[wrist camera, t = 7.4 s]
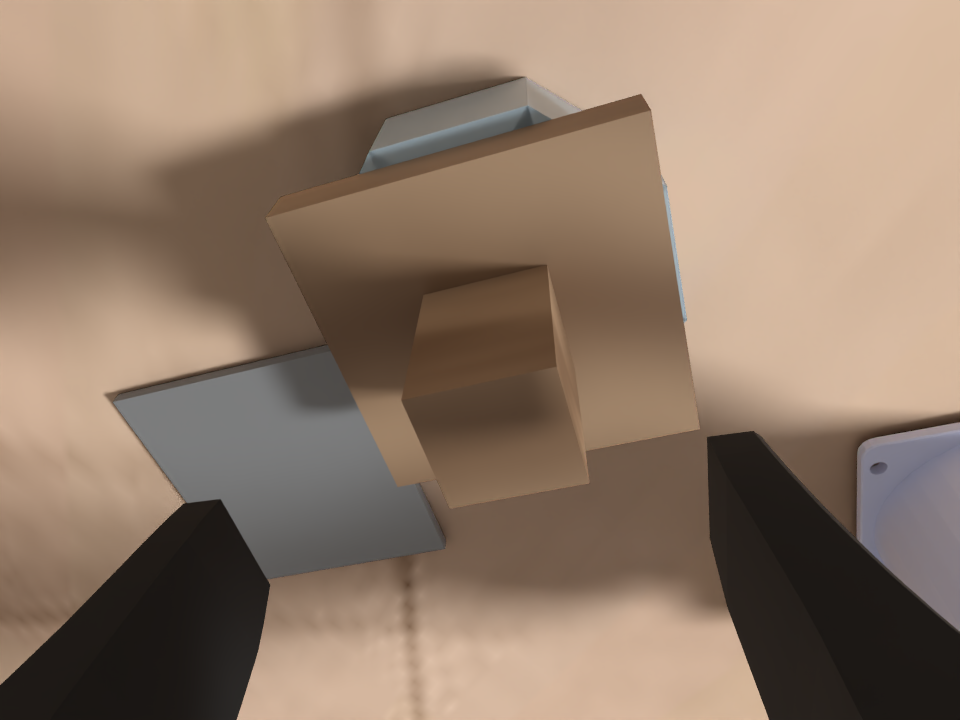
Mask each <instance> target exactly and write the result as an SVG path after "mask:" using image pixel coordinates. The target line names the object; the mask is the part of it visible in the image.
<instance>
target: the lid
mask: <svg viewBox="0 0 960 720" xmlns="http://www.w3.org/2000/svg"><path fill="white" fill-rule="evenodd" d="M265 219H266V221H267V223H268V225H269V227H270V229H271V231H272V233H273V235H274V237H275V239H276V241H277V243H278V245H279V248H280V250H281V252H282V254H283V256H284V258H285V260H286V262H287V264H288V266H289V268H290V270H291V272H292V274H293V276H294V278H295V280H296V282H297V284H298V286H299V288H300V290H301V292H302V294H303V296H304V298H305V300H306V302H307V304H308V306H309V308H310V310H311V312H312V314H313V316H314V318H315V320H316V322H317V324H318V327H319V329H320V331H321V333H322V335H323V337H324V339H325V341H326V343H327V345H328V347H329V349H330V351H331V353H332V355H333V357H334V359H335V361H336V363H337V365H338V367H339V369H340V371H341V373H342V375H343V377H344V379H345V381H346V383H347V385H348V387H349V389H350V391H351V393H352V395H353V397H354V399H355V401H356V403H357V406H358V408H359V410H360V412H361V414H362V416H363V418H364V420H365V422H366V424H367V426H368V428H369V430H370V432H371V434H372V436H373V438H374V440H375V442H376V444H377V446H378V448H379V450H380V452H381V454H382V456H383V458H384V460H385V462H386V464H387V466H388V468H389V470H390V472H391V474H392V476H393V478H394V480H395V482H396V484H397V487H401V486H406V485H411V484H416V483H422V482H427V481H432V480H437V482H438V484H439V486H440V488H441V491H442V493H443V495H444V497H445V500H446V502H447V504H448V506H449V508H450V509H452V508H457V507H463V506H468V505H474V504H479V503H485V502H490V501H496V500H501V499H507V498H512V497H518V496H523V495H529V494H534V493H540V492H545V491H551V490H556V489H562V488H567V487H573V486H578V485H584V484H589V483H590V482H589V474H588V466H587V459H586V451H589V450H594V449H599V448H605V447H610V446H615V445H620V444H626V443H631V442H636V441H641V440H647V439H652V438H657V437H662V436H668V435H673V434H678V433H683V432H688V431H694V430H699V429H700V425H699V419H698V412H697V406H696V399H695V393H694V386H693V380H692V373H691V367H690V360H689V354H688V347H687V341H686V334H685V328H684V321H683V315H682V308H681V302H680V295H679V289H678V282H677V276H676V269H675V263H674V256H673V250H672V243H671V237H670V230H669V224H668V217H667V211H666V204H665V198H664V191H663V185H662V178H661V172H660V165H659V159H658V152H657V146H656V139H655V133H654V126H653V120H652V113H651V109H650V108H649V106H648V104H647V103H646V101H645V99H644V98H643V96H642V95H641V94H639V95H636V96H632V97H629V98H625V99H622V100H618V101H615V102H611V103H608V104H604V105H601V106H597V107H594V108H590V109H587V110H583V111H580V112H576V113H573V114H569V115H566V116H562V117H559V118H555V119H552V120H548V121H545V122H541V123H538V124H534V125H531V126H527V127H524V128H520V129H517V130H513V131H510V132H506V133H503V134H499V135H495V136H492V137H488V138H485V139H481V140H478V141H474V142H471V143H467V144H464V145H460V146H457V147H453V148H450V149H446V150H443V151H439V152H436V153H432V154H429V155H425V156H422V157H418V158H415V159H411V160H408V161H404V162H401V163H397V164H394V165H390V166H387V167H383V168H380V169H376V170H373V171H369V172H366V173H362V174H359V175H355V176H352V177H348V178H345V179H341V180H337V181H334V182H330V183H327V184H323V185H320V186H316V187H313V188H309V189H306V190H302V191H299V192H295V193H292V194H288V195H285V196H281V197H280V198H279V200H278V201H277V202H276V204H275V205H274V206H273V208H272V209H271V211H270V212H269V213H268V215H267V216H266V217H265Z"/></svg>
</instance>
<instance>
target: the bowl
mask: <svg viewBox="0 0 960 720" xmlns="http://www.w3.org/2000/svg"><path fill="white" fill-rule="evenodd" d="M580 111H582V110H581V109H579V108H577V107H576V106H574V105H572V104H570V103H569V102H567V101H565V100H564V99H562V98H560V97H559V96H557V95H555V94H554V93H552V92H550V91H549V90H547V89H545V88H544V87H542V86H540V85H538V84H537V83H535V82H533V81H532V80H530V79H528V78H527V77H524V78H521V79H518V80H514V81H511V82H508V83H504V84H501V85H497V86H494V87H491V88H487V89H484V90H481V91H477V92H474V93H471V94H467V95H464V96H461V97H457V98H454V99H451V100H447V101H444V102H441V103H437V104H434V105H431V106H427V107H424V108H420V109H417V110H414V111H410V112H407V113H404V114H400V115H397V116H394V117H390V118H387V119H386V120H385V122H384V124H383V126H382V128H381V130H380V131H379V133H378V135H377V137H376V139H375V141H374V143H373V145H372V147H371V149H370V150H369V153H368V155H367V158H366V160H365V162H364V164H363V166H362V168H361V171H360V173H359V174H362V173H366V172H369V171H373V170H376V169H380V168H383V167H387V166H390V165H394V164H397V163H401V162H404V161H408V160H411V159H415V158H418V157H422V156H425V155H429V154H432V153H436V152H439V151H443V150H446V149H450V148H453V147H457V146H460V145H464V144H467V143H471V142H474V141H478V140H481V139H485V138H488V137H492V136H495V135H499V134H503V133H506V132H510V131H513V130H517V129H520V128H524V127H527V126H531V125H534V124H538V123H541V122H545V121H548V120H552V119H555V118H559V117H562V116H566V115H569V114H573V113H576V112H580ZM661 178H662V185H663V191H664V198H665V204H666V211H667V217H668V224H669V230H670V237H671V243H672V250H673V256H674V263H675V269H676V276H677V282H678V289H679V295H680V302H681V308H682V315H683V321H684V323H685V321H686V320H687V317H686V311H685V304H684V297H683V291H682V284H681V278H680V271H679V264H678V258H677V251H676V244H675V238H674V231H673V224H672V218H671V211H670V205H669V198H668V191H667V185H666V183H665V181H664V179H663V177H662V175H661Z"/></svg>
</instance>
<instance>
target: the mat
mask: <svg viewBox="0 0 960 720" xmlns="http://www.w3.org/2000/svg"><path fill="white" fill-rule="evenodd" d="M113 403H114V405H115V406H116V407H117V409H118V410H119V412H120V413H121V414H122V416H123V417H124V418H125V420H126V421H127V422H128V424H129V425H130V426H131V428H132V429H133V431H134V432H135V433H136V435H137V436H138V437H139V439H140V440H141V441H142V443H143V444H144V445H145V447H146V448H147V450H148V451H149V452H150V454H151V455H152V456H153V458H154V459H155V460H156V462H157V463H158V464H159V466H160V467H161V469H162V470H163V471H164V473H165V474H166V475H167V477H168V478H169V479H170V481H171V482H172V483H173V485H174V486H175V488H176V489H177V490H178V492H179V493H180V494H181V496H182V497H183V498H184V500H185V501H186V502H187V503H192V502H200V501H208V500H216V499H221V500H222V502H223V504H224V506H225V507H226V509H227V511H228V513H229V514H230V516H231V518H232V520H233V521H234V523H235V525H236V526H237V528H238V530H239V532H240V533H241V535H242V537H243V539H244V540H245V542H246V544H247V546H248V547H249V549H250V551H251V553H252V554H253V556H254V558H255V560H256V561H257V563H258V565H259V566H260V568H261V570H262V572H263V573H264V575H265V577H266V579H272V578H278V577H284V576H289V575H295V574H301V573H307V572H313V571H319V570H325V569H330V568H336V567H342V566H348V565H354V564H360V563H366V562H371V561H377V560H383V559H389V558H395V557H401V556H407V555H412V554H418V553H424V552H430V551H436V550H442V549H445V546H446V539H445V537H444V535H443V533H442V530H441V528H440V526H439V524H438V522H437V520H436V518H435V516H434V513H433V511H432V509H431V507H430V505H429V503H428V501H427V498H426V496H425V494H424V492H423V490H422V488H421V486H420V483H416V484H411V485H406V486H401V487H397V484H396V482H395V480H394V478H393V476H392V474H391V472H390V470H389V468H388V466H387V464H386V462H385V460H384V458H383V456H382V454H381V452H380V450H379V448H378V446H377V444H376V442H375V440H374V438H373V436H372V434H371V432H370V430H369V428H368V426H367V424H366V422H365V420H364V418H363V416H362V414H361V412H360V410H359V408H358V406H357V403H356V401H355V399H354V397H353V395H352V393H351V391H350V389H349V387H348V385H347V383H346V381H345V379H344V377H343V375H342V373H341V371H340V369H339V367H338V365H337V363H336V361H335V359H334V357H333V355H332V353H331V351H330V349H329V347H328V345H325V346H321V347H316V348H312V349H308V350H304V351H299V352H295V353H291V354H287V355H283V356H278V357H274V358H270V359H266V360H261V361H257V362H253V363H249V364H245V365H240V366H236V367H232V368H228V369H224V370H219V371H215V372H211V373H207V374H202V375H198V376H194V377H190V378H186V379H181V380H177V381H173V382H169V383H164V384H160V385H156V386H152V387H148V388H143V389H139V390H135V391H131V392H127V393H122V394H118V396H117V397H116V398H115V400H114V401H113Z"/></svg>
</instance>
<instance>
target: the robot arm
mask: <svg viewBox="0 0 960 720" xmlns="http://www.w3.org/2000/svg"><path fill="white" fill-rule="evenodd" d="M707 449H708V486H709V522H710V540H711V544H712V548H713V552H714V556H715V560H716V564H717V568H718V572H719V576H720V580H721V584H722V588H723V592H724V595H725V599H726V603H727V607H728V610H729V612H730V615H731V618H732V621H733V623H734V626H735V629H736V631H737V634H738V637H739V640H740V642H741V645H742V648H743V650H744V653H745V656H746V659H747V661H748V664H749V667H750V669H751V672H752V675H753V677H754V680H755V683H756V685H757V688H758V691H759V693H760V696H761V699H762V701H763V704H764V707H765V709H766V712H767V715H768V717H769V720H960V422H959V423H953V424H947V425H942V426H936V427H931V428H925V429H920V430H914V431H909V432H903V433H898V434H892V435H887V436H881V437H875V438H872V439H868V440H867V441H865V442H863V443H862V444H861V445H860V447H859V448H858V452H857V539H856V538H855V537H854V536H853V535H852V534H851V533H850V532H849V531H848V530H847V529H846V528H845V527H844V526H843V525H842V524H841V523H840V522H839V521H838V520H837V519H836V518H835V517H834V516H833V515H832V514H831V513H830V512H829V511H828V510H827V509H826V508H825V507H824V506H823V505H822V504H821V503H820V502H819V501H818V500H817V499H816V497H815V496H814V495H813V494H812V493H811V492H810V491H809V490H808V489H807V488H806V487H805V486H804V485H803V484H802V483H801V482H800V480H799V479H798V478H797V477H796V476H795V475H794V474H793V473H792V472H791V471H790V469H789V468H788V467H787V466H786V465H785V464H784V463H783V462H782V460H781V459H780V458H779V457H778V456H777V455H776V454H775V452H774V451H773V450H772V449H771V448H770V447H769V445H768V444H767V443H766V442H765V441H764V439H763V438H762V437H761V436H759V435H758V434H757V433H755V432H754V431H750V432H742V433H734V434H727V435H719V436H711V437H707ZM878 462H880V463H879V464H877V465H874V464H876V463H878ZM872 465H874V466H872ZM269 588H270V584H269V582H268V580H267V579H266V577H265V575H264V573H263V572H262V570H261V568H260V566H259V565H258V563H257V561H256V560H255V558H254V556H253V554H252V553H251V551H250V549H249V547H248V546H247V544H246V542H245V540H244V539H243V537H242V535H241V533H240V532H239V530H238V528H237V526H236V525H235V523H234V521H233V520H232V518H231V516H230V514H229V513H228V511H227V509H226V507H225V506H224V504H223V502H222V500H221V499H216V500H208V501H200V502H192V503H184V504H183V505H182V506H181V507H180V508H179V509H177V510H176V511H175V512H174V513H173V514H172V515H171V516H170V517H169V518H168V519H167V520H166V521H165V522H164V523H163V524H162V525H161V526H160V527H159V528H158V529H157V530H156V531H155V532H154V533H153V534H152V535H151V536H150V537H149V538H148V539H147V540H146V541H145V542H144V543H143V544H142V545H141V546H140V547H139V548H138V549H137V550H136V551H135V552H134V553H133V554H132V555H131V556H130V557H129V558H128V559H127V560H126V561H125V562H124V563H123V565H122V566H121V567H120V568H119V569H118V570H117V571H116V572H115V573H114V574H113V575H112V576H111V577H110V578H109V579H108V580H107V581H106V582H105V583H104V584H103V585H102V586H101V587H100V588H99V589H98V590H97V591H96V592H95V593H94V594H93V595H92V596H91V597H90V598H89V599H88V600H87V601H86V602H85V603H84V604H83V605H82V606H81V607H80V608H79V610H78V611H77V612H76V613H75V614H74V615H73V616H72V617H71V618H70V619H69V620H68V621H67V622H66V623H65V624H64V625H63V626H62V627H61V628H60V629H59V630H58V631H57V632H55V633H54V634H53V635H52V636H51V637H50V638H49V639H48V640H47V641H46V642H45V643H44V644H43V645H42V646H41V647H40V648H39V649H38V650H37V651H36V652H35V653H34V654H33V655H31V656H30V657H29V658H28V659H27V660H26V661H25V662H24V663H23V664H22V665H21V666H20V667H19V668H18V669H17V670H16V671H15V672H14V673H13V674H12V675H11V676H10V677H9V678H7V679H6V680H5V681H4V682H3V683H2V684H1V685H0V720H237V717H238V714H239V710H240V707H241V704H242V701H243V698H244V695H245V692H246V688H247V685H248V682H249V679H250V676H251V672H252V669H253V666H254V663H255V659H256V656H257V653H258V649H259V644H260V639H261V634H262V629H263V624H264V619H265V613H266V607H267V601H268V595H269Z"/></svg>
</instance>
